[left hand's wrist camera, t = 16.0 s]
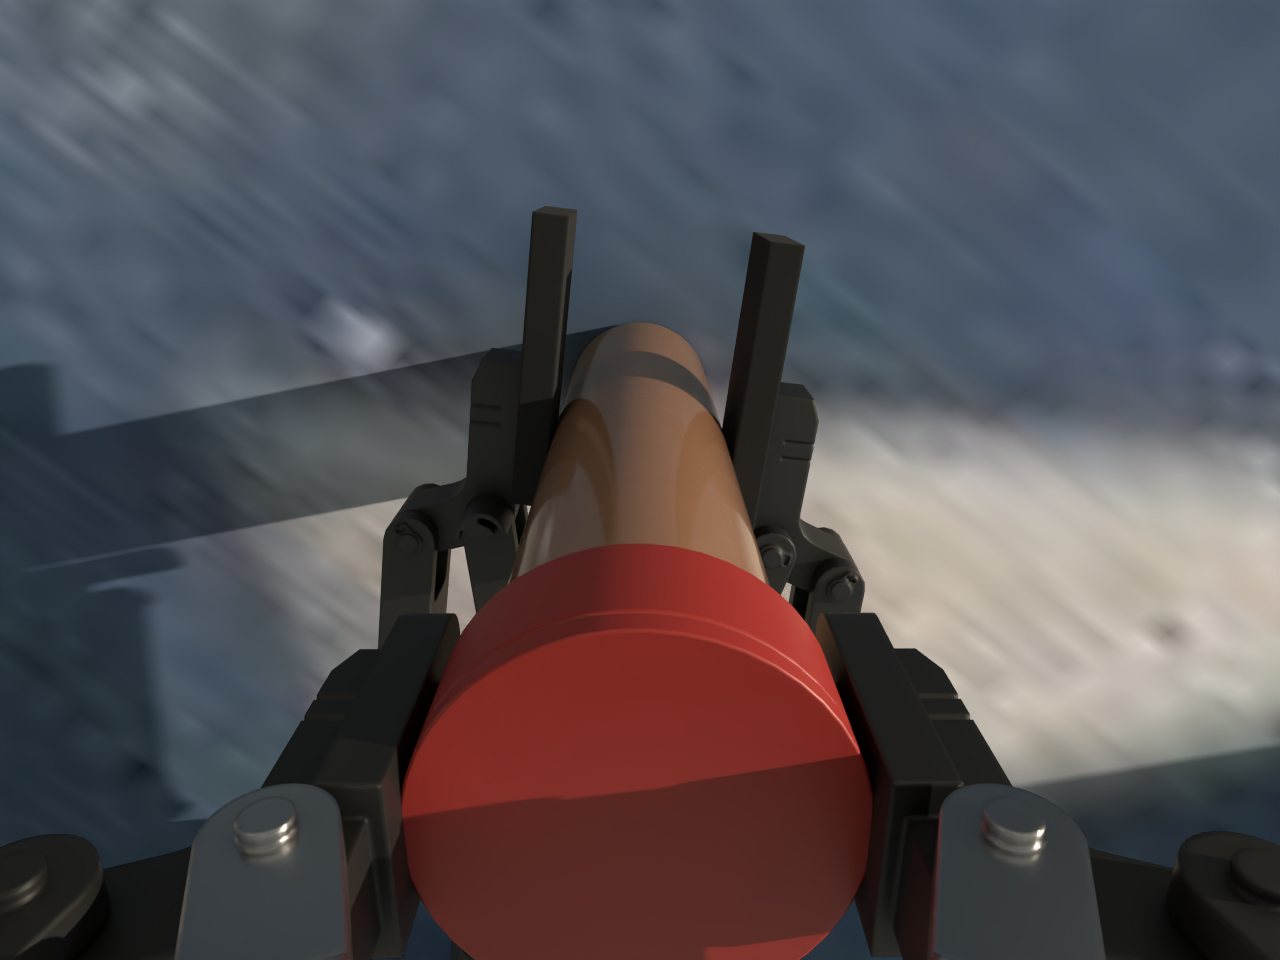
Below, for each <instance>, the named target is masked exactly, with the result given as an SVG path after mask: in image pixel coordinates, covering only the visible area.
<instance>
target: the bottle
mask: <svg viewBox="0 0 1280 960" xmlns="http://www.w3.org/2000/svg"><path fill="white" fill-rule="evenodd" d="M616 544H657V545H666V546H675V547H680V548H684V549H689V550H693V551H697V552H702V553H705V554H707V555H710V556H713V557H716V558H718V559H721V560H724V561H727V562H729V563H731V564H733V565H735V566H737V567H739V568H741V569H743V570H745V571H747V572H749V573H751V574H752V575H754V576H755V577H757V578H758V579H760V580H761V581H763V582H764V583H766V584H767V585H768V586H770V584H769V581H768V578H767V574H766V571H765V568H764V565H763V561H762V558H761V555H760V552H759V548H758V545H757V542H756V539H755V535H754V532H753V529H752V525H751V522H750V519H749V516H748V512H747V509H746V506H745V503H744V499H743V496H742V493H741V490H740V486H739V483H738V480H737V477H736V473H735V470H734V467H733V464H732V460H731V457H730V454H729V451H728V447H727V444H726V441H725V438H724V434H723V431H722V428H721V425H720V421H719V418H718V415H717V412H716V408H715V405H714V402H713V399H712V395H711V392H710V389H709V386H708V382H707V379H706V376H705V372H704V369H703V367H702V364H701V362H700V360H699V358H698V356H697V354H696V353H695V351H694V350H693V348H692V347H691V346H690V345H689V344H688V343H687V342H686V341H685V340H684V339H683V338H682V337H681V336H679V335H678V334H676V333H675V332H673V331H671V330H669V329H667V328H665V327H662V326H659V325H656V324H651V323H640V322H636V323H627V324H622V325H619V326H616V327H613V328H611V329H609V330H607V331H605V332H603V333H602V334H600V335H599V336H597V337H596V338H595V339H594V340H593V341H592V342H590V343H589V345H588V346H587V347H586V348H585V349H584V351H583V352H582V354H581V355H580V357H579V359H578V361H577V364H576V366H575V369H574V372H573V375H572V378H571V382H570V385H569V388H568V391H567V394H566V397H565V401H564V404H563V407H562V410H561V413H560V416H559V420H558V423H557V426H556V429H555V432H554V435H553V439H552V442H551V445H550V448H549V451H548V454H547V458H546V461H545V464H544V467H543V470H542V473H541V477H540V480H539V483H538V486H537V489H536V492H535V496H534V499H533V502H532V505H531V508H530V511H529V515H528V518H527V521H526V524H525V527H524V530H523V534H522V537H521V540H520V543H519V546H518V549H517V553H516V556H515V559H514V562H513V565H512V568H511V572H510V575H509V578H508V581H507V584H506V586H507V585H508V584H509V583H511V582H512V581H513V580H515V579H516V578H518V577H519V576H521V575H523V574H525V573H527V572H528V571H530V570H532V569H534V568H536V567H537V566H539V565H541V564H544V563H546V562H549V561H551V560H554V559H556V558H559V557H561V556H564V555H567V554H571V553H575V552H578V551H582V550H586V549H590V548H594V547H602V546H609V545H616Z"/></svg>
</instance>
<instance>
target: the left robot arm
mask: <svg viewBox="0 0 1280 960" xmlns="http://www.w3.org/2000/svg"><path fill="white" fill-rule="evenodd" d="M459 637H460V627H459V622H458V618H457V616H456V614H454V613H403V614H400V615H399V617H398V618H397V620H396V622H395V624H394V626H393V628H392V629H391V631H390V633H389V635H388V637H387V639H386V641H385V643H384V645H383V646H382V648H381V649H360V650H358V651H357V652H356V653H354V654H353V655H352V656H350V657H349V658H348V659H346V660H345V661H344V662H342V663H341V664H340V665H338V666H337V667H336V668H334V669H333V670H332V671H331V673H330V674H329V676H328V678H327V679H326V681H325V682H324V684H323V686H322V687H321V689H320V691H319V692H318V694H317V700H314V701H313V702H312V704H311V706H310V707H309V709H308V711H307V712H306V714H305V719H304V721H301V722H300V724H299V726H298V727H297V729H296V731H295V732H294V734H293V736H292V737H291V739H290V741H289V742H288V744H287V746H286V747H285V749H284V751H283V752H282V754H281V756H280V757H279V759H278V760H277V762H276V764H275V765H274V767H273V769H272V770H271V772H270V774H269V775H268V777H267V779H266V780H265V782H264V784H263V785H262V787H261V788H260V789H257V790H254V791H252V792H249V793H246V794H244V795H242V796H240V797H238V798H236V799H234V800H232V801H231V802H229V803H227V804H226V805H224V806H223V807H221V808H220V809H219V810H217V811H216V812H215V813H213V814H212V815H211V816H210V817H209V818H208V819H207V820H206V821H205V823H204V824H203V825H202V826H201V828H200V829H199V830H198V832H197V834H196V836H195V838H194V841H193V844H192V846H191V847H188V848H185V849H183V850H180V851H177V852H173V853H170V854H166V855H162V856H158V857H154V858H149V859H145V860H141V861H136V862H132V863H128V864H123V865H119V866H115V867H110V868H106V869H102V866H101V863H100V859H99V855H98V853H97V850H96V848H95V847H94V846H93V845H92V843H91V842H89V841H87V840H86V839H84V838H81V837H78V836H75V835H68V834H48V835H41V836H35V837H31V838H26V839H22V840H19V841H16V842H13V843H10V844H7V845H5V846H2V847H0V960H371V959H372V958H403V956H404V953H405V949H406V946H407V942H408V939H409V936H410V932H411V929H412V926H413V922H414V919H415V915H416V912H417V909H418V905H419V902H420V897H419V895H418V893H417V891H416V889H415V887H414V885H413V883H412V881H411V878H410V874H409V867H408V859H407V851H406V842H405V833H404V825H403V816H402V806H401V791H402V786H403V781H404V776H405V773H406V771H407V768H408V765H409V762H410V760H411V757H412V754H413V751H414V749H415V746H416V744H417V741H418V738H419V736H420V733H421V731H422V728H423V725H424V723H425V720H426V717H427V715H428V712H429V710H430V707H431V704H432V702H433V699H434V697H435V694H436V691H437V689H438V686H439V684H440V681H441V678H442V676H443V673H444V671H445V668H446V665H447V663H448V660H449V658H450V655H451V652H452V650H453V648H454V646H455V645H456V643H457V641H458V639H459ZM815 637H816V639H817V641H818V642H819V644H820V646H821V648H822V651H823V653H824V655H825V658H826V660H827V663H828V665H829V667H830V670H831V673H832V675H833V678H834V681H835V683H836V686H837V689H838V692H839V694H840V697H841V700H842V702H843V705H844V708H845V710H846V713H847V716H848V718H849V721H850V724H851V726H852V729H853V732H854V734H855V737H856V740H857V742H858V745H859V748H860V751H861V753H862V756H863V758H864V761H865V764H866V766H867V769H868V773H869V777H870V781H871V785H872V789H873V795H874V800H873V811H872V821H871V830H870V839H869V848H868V856H867V864H866V872H865V876H864V878H863V881H862V883H861V885H860V888H859V890H858V892H857V895H856V896H855V898H854V899H855V902H856V905H857V909H858V912H859V916H860V919H861V923H862V926H863V930H864V933H865V937H866V940H867V943H868V947H869V950H870V954H871V956H881V957H902V958H903V960H1280V846H1279V845H1276V844H1274V843H1271V842H1269V841H1266V840H1263V839H1260V838H1257V837H1253V836H1249V835H1245V834H1240V833H1234V832H1226V831H1211V832H1203V833H1200V834H1196V835H1193V836H1192V837H1190V838H1188V839H1186V840H1185V842H1184V843H1183V844H1182V845H1181V847H1180V849H1179V852H1178V855H1177V859H1176V863H1175V867H1174V868H1170V867H1165V866H1161V865H1157V864H1152V863H1148V862H1144V861H1139V860H1135V859H1131V858H1126V857H1122V856H1118V855H1113V854H1109V853H1105V852H1102V851H1098V850H1095V849H1092V848H1089V847H1088V844H1087V841H1086V838H1085V836H1084V834H1083V832H1082V830H1081V829H1080V828H1079V826H1078V825H1077V824H1076V822H1075V821H1074V820H1073V819H1072V818H1071V817H1070V816H1069V815H1068V814H1067V813H1065V812H1064V811H1063V810H1061V809H1060V808H1059V807H1057V806H1056V805H1054V804H1053V803H1051V802H1050V801H1048V800H1046V799H1044V798H1042V797H1040V796H1038V795H1036V794H1034V793H1031V792H1028V791H1026V790H1023V789H1020V788H1016V787H1013V786H1012V785H1011V783H1010V781H1009V780H1008V778H1007V776H1006V774H1005V773H1004V771H1003V769H1002V768H1001V766H1000V764H999V763H998V761H997V759H996V758H995V756H994V754H993V753H992V751H991V749H990V747H989V746H988V744H987V742H986V741H985V739H984V737H983V736H982V734H981V732H980V731H979V729H978V727H977V726H976V724H975V722H974V721H973V720H970V714H969V712H968V710H967V709H966V707H965V705H964V704H963V702H962V700H961V699H958V694H957V692H956V690H955V689H954V687H953V685H952V683H951V682H950V680H949V678H948V677H947V675H946V673H945V672H944V670H943V669H942V668H940V667H939V666H938V665H937V664H935V663H934V662H933V661H931V660H930V659H929V658H927V657H926V656H925V655H923V654H922V653H921V652H919V651H918V650H917V649H894V648H893V646H892V644H891V642H890V640H889V638H888V636H887V634H886V632H885V630H884V628H883V626H882V624H881V622H880V621H879V619H878V617H877V615H876V614H875V613H820V614H819V616H818V619H817V624H816V633H815Z"/></svg>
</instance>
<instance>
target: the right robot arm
mask: <svg viewBox="0 0 1280 960" xmlns="http://www.w3.org/2000/svg"><path fill="white" fill-rule="evenodd" d="M576 219H577V210H573V209H565V208H557V207H549V206H545V207H542V208H540V209H538V210H536V211H533V212H532V226H531V239H530V253H529V266H528V279H527V293H526V306H525V320H524V333H523V346H522V351H514V350H505V349H497V348H491V350H490V351H489V352H488V353H487V355H486V356H485V357H484V358H483V360H482V361H481V363H480V365H479V367H478V369H477V371H476V373H475V376H474V378H473V380H472V389H471V407H470V425H469V443H468V461H467V477H466V478H464V479H463V480H461V481H458V482H455V483H451V484H447V485H442V486H439V485H436V484H433V483H432V484H423V485H421V486H418V487H416V488H415V490H414V491H413V492H412V493H411V494H410V496H409V497H408V499H407V500H406V502H405V503H404V504H403V506H402V507H401V509H400V510H399V512H398V513H397V515H396V516H395V517H394V519H393V520H392V522H391V523H390V525H389V526H388V528H387V529H386V531H385V535H384V539H383V559H382V579H381V600H380V620H379V640H378V649H381V648H382V646H383V645H384V643H385V641H386V639H387V637H388V635H389V633H390V631H391V629H392V628H393V626H394V624H395V622H396V620H397V618H398V617H399V615H400V614H403V613H446V608H447V595H448V582H449V569H450V557H451V549H453V548H458V547H462V546H464V548H465V554H466V559H467V565H468V570H469V576H470V581H471V587H472V592H473V598H474V604H475V609H476V613H477V612H478V611H479V610H480V609H481V608H482V607H483V606H484V605H485V604H486V603H487V602H488V601H489V600H490V599H491V598H492V597H493V596H494V595H495V594H496V593H497V592H499V591H500V590H501V589H503V588H504V587H505V586H506V584H507V581H508V578H509V575H510V572H511V568H512V565H513V562H514V559H515V556H516V553H517V549H518V546H519V543H520V540H521V537H522V534H523V530H524V527H525V524H526V521H527V518H528V511H527V505H528V506H531V505H532V502H533V499H534V496H535V492H536V489H537V486H538V483H539V480H540V477H541V473H542V470H543V467H544V464H545V461H546V458H547V454H548V451H549V448H550V445H551V442H552V439H553V435H554V432H555V429H556V426H557V423H558V416H559V406H560V395H561V384H562V373H563V362H564V351H565V340H566V329H567V318H568V307H569V296H570V285H571V274H572V263H573V252H574V241H575V230H576ZM804 249H805V246H804V245H802V244H800V243H798V242H796V241H794V240H792V239H790V238H788V237H786V236H781V235H773V234H765V233H757V232H753V238H752V244H751V250H750V256H749V263H748V269H747V275H746V282H745V288H744V294H743V300H742V307H741V313H740V319H739V326H738V332H737V338H736V345H735V351H734V357H733V363H732V370H731V376H730V382H729V389H728V395H727V401H726V407H725V414H724V420H723V426H722V431H723V434H724V438H725V441H726V444H727V447H728V451H729V454H730V457H731V460H732V464H733V467H734V470H735V473H736V477H737V480H738V483H739V486H740V490H741V493H742V496H743V499H744V503H745V506H746V509H747V512H748V516H749V519H750V522H751V525H752V529H753V532H754V535H755V539H756V542H757V545H758V548H759V552H760V555H761V558H762V561H763V565H764V568H765V571H766V574H767V578H768V581H769V584H770V587H771V588H773V589H774V590H775V591H776V592H777V593H778V594H780V595H781V593H782V591H783V589H784V587H785V584H786V582H788V583H790V584H792V586H791V592H790V598H789V604H791V605H792V606H793V608H794V609H795V610H796V611H797V612H798V614H799V615H800V616H801V617H802V618H803V620H804V621H805V622H806V623H807V624H808V626H809V628H810V629H811V631H812V632H813V634H814V636H815V633H816V624H817V619H818V616H819V614H820V613H860V612H861V607H862V602H863V597H864V592H865V582H864V580H863V578H862V576H861V574H860V573H859V571H858V568H857V566H856V565H855V563H854V561H853V559H852V557H851V555H850V554H849V552H848V550H847V548H846V546H845V545H844V543H843V541H842V540H841V538H840V536H839V534H837V533H836V532H835V531H834V530H832V529H828V528H825V527H823V528H816V527H814V526H812V525H810V524H808V523H806V522H804V521H803V520H801V519H800V513H801V508H802V503H803V498H804V493H805V488H806V482H807V477H808V472H809V467H810V460H811V457H812V452H813V444H814V442H815V437H816V432H817V427H818V422H819V421H818V416H817V411H816V406H815V401H814V399H813V397H812V396H811V395H810V393H809V392H808V391H807V389H806V388H805V387H804V385H800V384H791V383H783V382H781V377H782V371H783V366H784V360H785V355H786V349H787V344H788V338H789V332H790V327H791V321H792V316H793V310H794V305H795V299H796V293H797V288H798V282H799V277H800V271H801V265H802V260H803V254H804ZM451 960H475V959H473V958H472V957H471V956H470V955H468V954H467V953H466V952H465V951H464V950H463V949H462V948H460V947H459V946H458V945H457V944H456V943H455V942H454V941H452V944H451Z"/></svg>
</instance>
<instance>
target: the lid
mask: <svg viewBox="0 0 1280 960" xmlns="http://www.w3.org/2000/svg"><path fill="white" fill-rule="evenodd" d="M873 800H874V795H873V789H872V785H871V781H870V777H869V773H868V769H867V766H866V764H865V761H864V758H863V756H862V753H861V751H860V748H859V745H858V742H857V740H856V737H855V734H854V732H853V729H852V726H851V724H850V721H849V718H848V716H847V713H846V710H845V708H844V705H843V702H842V700H841V697H840V694H839V692H838V689H837V686H836V683H835V681H834V678H833V675H832V673H831V670H830V667H829V665H828V663H827V660H826V658H825V655H824V653H823V651H822V648H821V646H820V644H819V642H818V641H817V639H816V637H815V636H814V634H813V632H812V631H811V629H810V628H809V626H808V624H807V623H806V622H805V621H804V620H803V618H802V617H801V616H800V615H799V614H798V612H797V611H796V610H795V609H794V608H793V606H792V605H791V604H789V603H788V602H787V601H786V600H785V599H784V598H783V597H782V596H781V595H780V594H778V593H777V592H776V591H775V590H774V589H773V588H771V587H770V586H768V585H767V584H766V583H764V582H763V581H761V580H760V579H758V578H757V577H755V576H754V575H752V574H751V573H749V572H747V571H745V570H743V569H741V568H739V567H737V566H735V565H733V564H731V563H729V562H727V561H724V560H721V559H718V558H716V557H713V556H710V555H707V554H705V553H702V552H697V551H693V550H689V549H684V548H680V547H675V546H666V545H657V544H616V545H609V546H602V547H594V548H590V549H586V550H582V551H578V552H575V553H571V554H567V555H564V556H561V557H559V558H556V559H554V560H551V561H549V562H546V563H544V564H541V565H539V566H537V567H536V568H534V569H532V570H530V571H528V572H527V573H525V574H523V575H521V576H519V577H518V578H516V579H515V580H513V581H512V582H511V583H509V584H508V585H507V586H505V587H504V588H503V589H501V590H500V591H499V592H497V593H496V594H495V595H494V596H493V597H492V598H491V599H490V600H489V601H488V602H487V603H486V604H485V605H484V606H483V607H482V608H481V609H480V610H479V611H478V612H477V613H476V614H475V616H474V617H473V618H472V620H471V621H470V622H469V624H468V625H467V626H466V628H465V629H464V630H463V632H462V634H461V636H460V637H459V639H458V641H457V643H456V645H455V646H454V648H453V650H452V652H451V655H450V658H449V660H448V663H447V665H446V668H445V671H444V673H443V676H442V678H441V681H440V684H439V686H438V689H437V691H436V694H435V697H434V699H433V702H432V704H431V707H430V710H429V712H428V715H427V717H426V720H425V723H424V725H423V728H422V731H421V733H420V736H419V738H418V741H417V744H416V746H415V749H414V751H413V754H412V757H411V760H410V762H409V765H408V768H407V771H406V773H405V776H404V781H403V786H402V791H401V806H402V816H403V825H404V833H405V842H406V851H407V859H408V867H409V874H410V878H411V881H412V883H413V885H414V887H415V889H416V891H417V893H418V895H419V897H420V899H421V901H422V902H423V904H424V905H425V907H426V908H427V910H428V911H429V913H430V914H431V916H432V917H433V919H434V920H435V922H436V923H437V924H438V925H439V926H440V927H441V928H442V929H443V931H444V932H445V933H446V934H447V935H448V936H449V937H450V938H451V939H452V941H454V942H455V943H456V944H457V945H458V946H459V947H460V948H462V949H463V950H464V951H465V952H466V953H467V954H468V955H470V956H471V957H472V958H473V959H475V960H799V959H801V958H802V957H804V956H805V955H806V954H808V953H809V952H810V951H811V950H812V949H813V948H814V947H815V946H816V945H817V944H818V943H820V942H821V941H822V940H823V939H824V938H825V937H826V936H827V935H828V934H829V933H830V931H831V930H832V929H833V928H834V926H835V925H836V924H837V923H838V922H839V920H840V919H841V918H842V917H843V916H844V914H845V912H846V911H847V909H848V907H849V906H850V904H851V903H852V901H853V899H854V898H855V896H856V895H857V892H858V890H859V888H860V885H861V883H862V881H863V878H864V876H865V872H866V864H867V856H868V848H869V839H870V830H871V821H872V811H873Z"/></svg>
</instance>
